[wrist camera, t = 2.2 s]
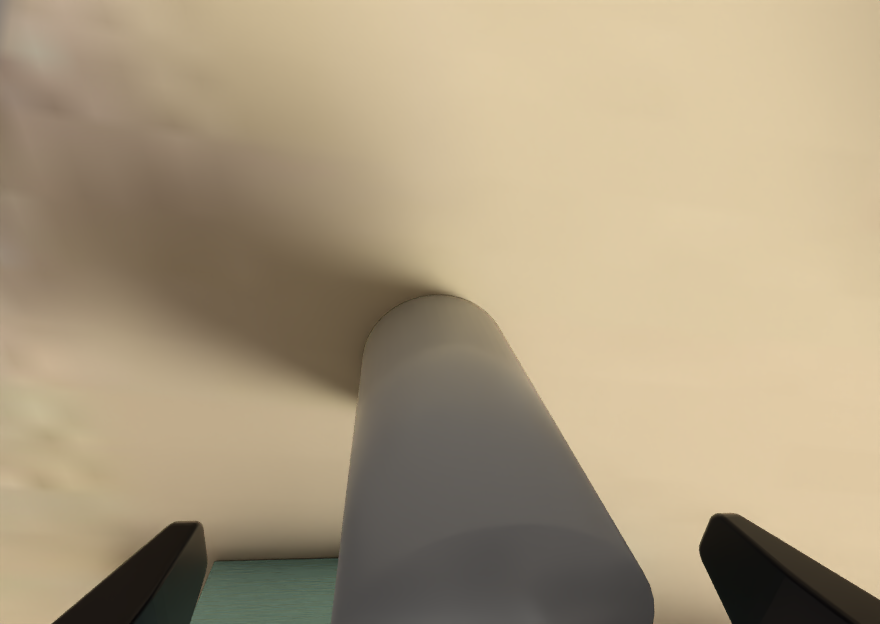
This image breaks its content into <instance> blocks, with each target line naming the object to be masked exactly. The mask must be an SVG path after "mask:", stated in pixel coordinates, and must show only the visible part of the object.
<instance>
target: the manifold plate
mask: <svg viewBox="0 0 880 624" xmlns="http://www.w3.org/2000/svg"><path fill="white" fill-rule="evenodd" d="M337 567H338V558H325V559H289V560H252V561H215V562H214V564H213V566H212V569H211V571H210V573H209V576H208V578H207V581H206V583H205V586H204V588H203V590H202V593H201V595H200V598H199V600H198V603H197V605H196V607H195V610H194V612H193V616H192V619H191V622H190V624H331V617H332V608H333V600H334V592H335V583H336V575H337Z"/></svg>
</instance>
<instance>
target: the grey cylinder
mask: <svg viewBox="0 0 880 624" xmlns="http://www.w3.org/2000/svg"><path fill="white" fill-rule="evenodd" d="M653 619H654V598H653V595H652V591H651V587H650V584H649V583H648V581H647V579H646V577H645V575H644V573H643V571H642V569H641V568H640V566H639V564H638V563H637V561H636V559H635V557H634V556H633V554H632V552H631V551H630V549H629V547H628V546H627V544H626V542H625V540H624V539H623V537H622V535H621V534H620V532H619V530H618V529H617V527H616V525H615V523H614V522H613V520H612V518H611V517H610V515H609V513H608V512H607V510H606V508H605V506H604V505H603V503H602V501H601V500H600V498H599V496H598V495H597V493H596V491H595V490H594V488H593V486H592V484H591V483H590V481H589V479H588V478H587V476H586V474H585V473H584V471H583V469H582V467H581V466H580V464H579V462H578V461H577V459H576V457H575V456H574V454H573V452H572V450H571V449H570V447H569V445H568V444H567V442H566V440H565V439H564V437H563V435H562V433H561V432H560V430H559V428H558V427H557V425H556V423H555V422H554V420H553V418H552V417H551V415H550V413H549V411H548V410H547V408H546V406H545V405H544V403H543V401H542V400H541V398H540V396H539V394H538V393H537V391H536V389H535V388H534V386H533V384H532V383H531V381H530V379H529V377H528V376H527V374H526V372H525V371H524V369H523V367H522V366H521V364H520V362H519V360H518V359H517V357H516V355H515V354H514V352H513V350H512V349H511V347H510V345H509V344H508V342H507V340H506V338H505V337H504V335H503V333H502V332H501V330H500V328H499V327H498V325H497V324H496V322H495V321H494V320H493V318H492V317H491V316H490V315H489V314H488V313H487V312H486V311H484V310H483V309H482V308H480V307H479V306H477V305H475V304H474V303H472V302H470V301H467V300H465V299H462V298H458V297H454V296H447V295H429V296H422V297H418V298H415V299H411V300H409V301H406V302H404V303H402V304H400V305H398V306H397V307H395V308H393V309H392V310H391V311H389V312H388V313H387V314H386V315H384V316H383V317H382V318H381V319H380V320H379V322H378V323H377V324H376V325H375V326H374V328H373V329H372V331H371V333H370V334H369V336H368V339H367V341H366V344H365V347H364V351H363V358H362V366H361V375H360V383H359V391H358V400H357V408H356V416H355V425H354V433H353V441H352V450H351V458H350V466H349V475H348V483H347V491H346V500H345V508H344V516H343V525H342V533H341V541H340V550H339V558H338V567H337V575H336V583H335V592H334V600H333V608H332V617H331V624H653Z"/></svg>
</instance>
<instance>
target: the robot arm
mask: <svg viewBox="0 0 880 624" xmlns="http://www.w3.org/2000/svg"><path fill="white" fill-rule="evenodd" d="M699 552H700V557H701V560H702V562H703V564H704V566H705V568H706V570H707V572H708V574H709V577H710V579H711V581H712V583H713V585H714V587H715V589H716V591H717V593H718V595H719V597H720V600H721V602H722V604H723V606H724V608H725V610H726V612H727V614H728V616H729V618H730V620H731V623H732V624H880V600H879V599H877V598H876V597H874V596H872V595H871V594H869V593H868V592H866V591H864V590H863V589H861V588H859V587H858V586H856V585H854V584H853V583H851V582H849V581H848V580H846V579H844V578H843V577H841V576H839V575H838V574H836V573H835V572H833V571H831V570H830V569H828V568H826V567H825V566H823V565H821V564H820V563H818V562H816V561H815V560H813V559H811V558H810V557H808V556H807V555H805V554H803V553H802V552H800V551H798V550H797V549H795V548H793V547H792V546H790V545H788V544H787V543H785V542H783V541H782V540H780V539H778V538H777V537H775V536H774V535H772V534H770V533H769V532H767V531H765V530H764V529H762V528H760V527H759V526H757V525H755V524H754V523H752V522H750V521H749V520H747V519H745V518H744V517H742V516H740V515H738V514H734V513H717V514H714V515H713V516H712V517H711V518H710V520H709V523H708V525H707V527H706V530H705V532H704V535H703V537H702V539H701V542H700V545H699ZM206 567H207V553H206V545H205V538H204V530H203V526H202V524H201V523H200V522H198V521H178V522H173V523H172V524H170V525H168V526H167V527H166V528H165V529H163V530H162V531H161V532H160V533H159V534H157V535H156V536H155V537H154V538H153V539H152V540H150V541H149V542H148V543H147V544H146V545H144V546H143V547H142V548H141V549H140V550H138V551H137V552H136V553H135V554H134V555H133V556H131V557H130V558H129V559H128V560H127V561H125V562H124V563H123V564H122V565H121V566H119V567H118V568H117V569H116V570H115V571H114V572H112V573H111V574H110V575H109V576H108V577H106V578H105V579H104V580H103V581H102V582H101V583H99V584H98V585H97V586H96V587H95V588H93V589H92V590H91V591H90V592H89V593H87V594H86V595H85V596H84V597H83V598H82V599H80V600H79V601H78V602H77V603H76V604H74V605H73V606H72V607H71V608H70V609H68V610H67V611H66V612H65V613H64V614H63V615H61V616H60V617H59V618H58V619H57V620H55V621H54V622H53V623H52V624H190V622H191V619H192V616H193V612H194V609H195V606H196V603H197V599H198V596H199V593H200V589H201V586H202V583H203V579H204V576H205V572H206Z"/></svg>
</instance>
